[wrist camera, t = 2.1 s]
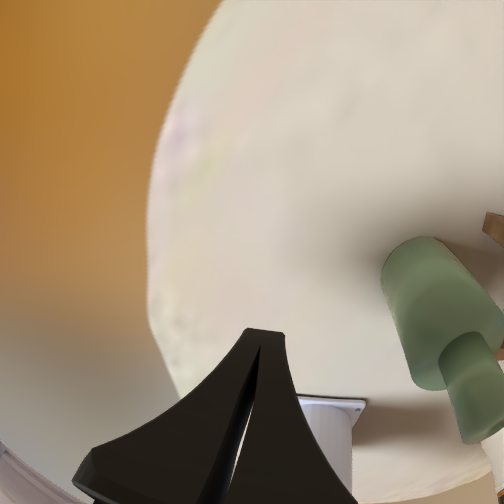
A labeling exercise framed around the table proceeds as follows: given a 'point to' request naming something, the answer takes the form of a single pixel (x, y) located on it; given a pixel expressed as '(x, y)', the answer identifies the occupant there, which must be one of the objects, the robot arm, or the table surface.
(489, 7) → the table surface
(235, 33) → the table surface
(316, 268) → the table surface
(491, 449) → the vodka
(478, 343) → the green bottle
